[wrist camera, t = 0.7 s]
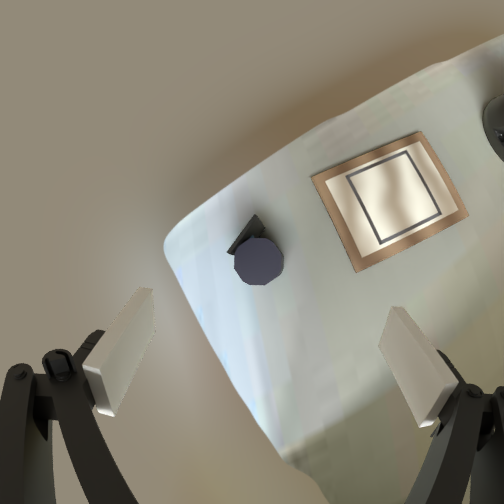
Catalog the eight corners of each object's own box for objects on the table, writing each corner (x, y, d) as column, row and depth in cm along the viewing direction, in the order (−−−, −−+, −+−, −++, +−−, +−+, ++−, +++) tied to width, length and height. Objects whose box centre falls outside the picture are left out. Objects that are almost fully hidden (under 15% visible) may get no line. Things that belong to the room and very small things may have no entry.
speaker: (231, 247, 44) (211, 238, 34) (264, 226, 44) (253, 210, 34) (258, 291, 43) (246, 295, 33) (292, 270, 43) (291, 267, 33)
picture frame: (419, 134, 40) (421, 130, 38) (466, 217, 36) (469, 215, 35) (311, 179, 43) (311, 176, 42) (355, 272, 40) (356, 272, 39)
